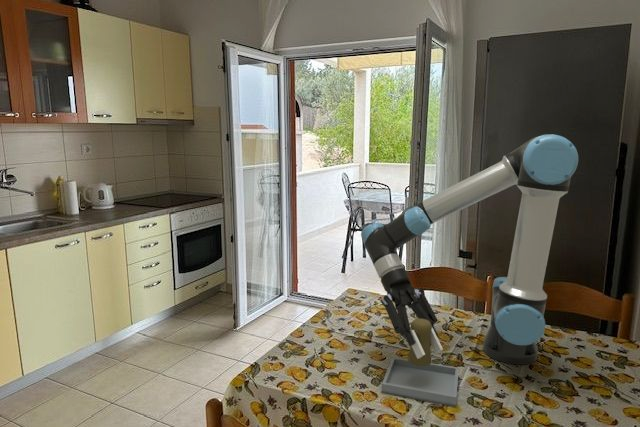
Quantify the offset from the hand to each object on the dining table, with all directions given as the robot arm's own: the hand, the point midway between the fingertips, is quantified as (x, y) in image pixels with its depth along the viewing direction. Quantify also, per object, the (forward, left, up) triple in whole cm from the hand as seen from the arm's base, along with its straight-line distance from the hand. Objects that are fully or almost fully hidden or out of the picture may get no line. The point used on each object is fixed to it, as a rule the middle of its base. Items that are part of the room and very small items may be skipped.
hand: (430, 353), depth 111 cm
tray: (+2, -2, -10) cm, 11 cm away
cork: (+3, -2, -4) cm, 5 cm away
